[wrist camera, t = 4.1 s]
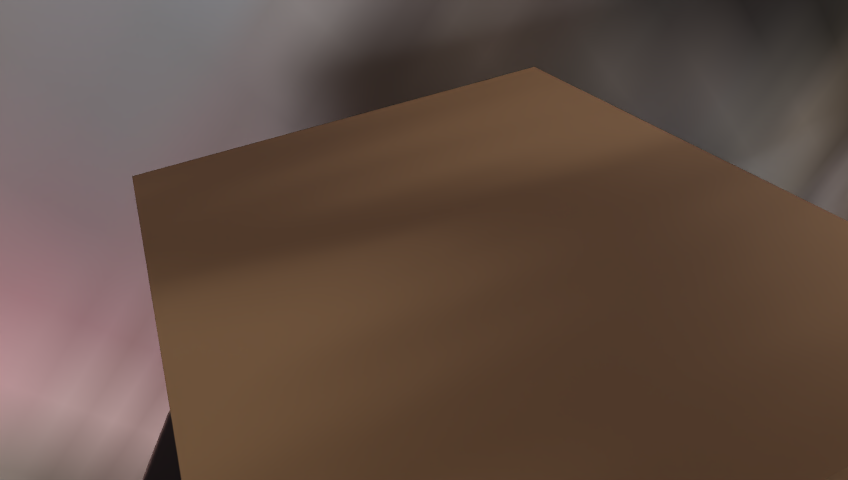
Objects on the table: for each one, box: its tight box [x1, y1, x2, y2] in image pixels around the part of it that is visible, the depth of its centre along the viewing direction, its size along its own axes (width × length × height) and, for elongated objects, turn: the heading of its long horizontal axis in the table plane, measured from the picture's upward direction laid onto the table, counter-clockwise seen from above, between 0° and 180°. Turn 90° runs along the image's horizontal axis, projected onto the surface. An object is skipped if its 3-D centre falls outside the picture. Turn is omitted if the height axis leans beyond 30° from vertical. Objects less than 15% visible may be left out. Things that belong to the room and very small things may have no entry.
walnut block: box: [132, 67, 848, 480], centre depth 7 cm, size 5×5×6 cm
